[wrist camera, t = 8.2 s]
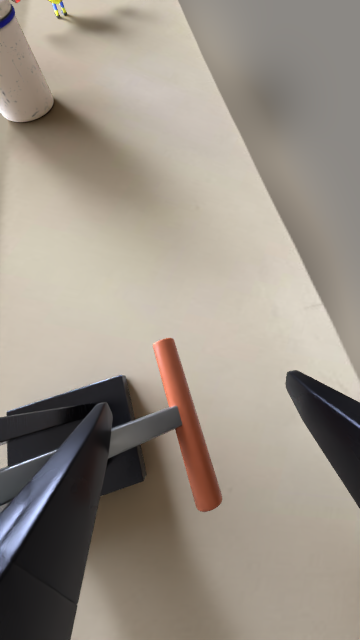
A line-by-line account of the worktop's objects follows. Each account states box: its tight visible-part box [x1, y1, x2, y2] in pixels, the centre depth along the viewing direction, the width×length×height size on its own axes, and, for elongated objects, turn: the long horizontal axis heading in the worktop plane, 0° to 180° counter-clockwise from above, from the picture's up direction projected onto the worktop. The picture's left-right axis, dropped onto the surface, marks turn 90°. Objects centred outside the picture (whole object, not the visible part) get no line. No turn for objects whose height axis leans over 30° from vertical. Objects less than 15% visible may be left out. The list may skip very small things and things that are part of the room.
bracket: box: [0, 375, 146, 513], centre depth 11 cm, size 10×8×13 cm
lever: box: [0, 338, 222, 512], centre depth 9 cm, size 13×9×2 cm
